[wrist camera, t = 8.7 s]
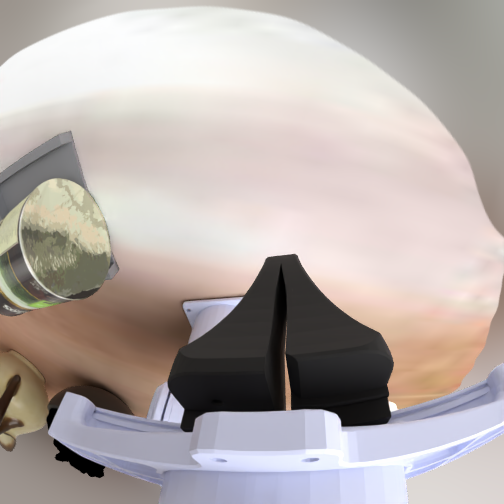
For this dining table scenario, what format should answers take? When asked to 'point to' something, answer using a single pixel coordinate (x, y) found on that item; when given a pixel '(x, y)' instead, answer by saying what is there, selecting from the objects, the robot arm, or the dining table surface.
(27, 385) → the pitcher
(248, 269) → the dining table surface
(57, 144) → the tray
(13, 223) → the coffee can
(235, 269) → the dining table surface
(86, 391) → the bowl of black rocks
